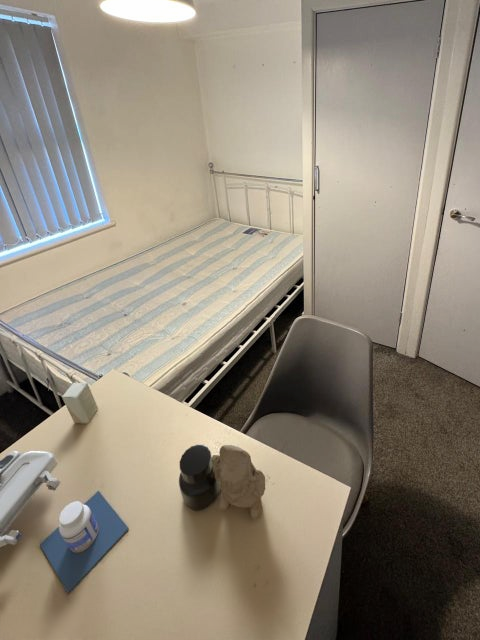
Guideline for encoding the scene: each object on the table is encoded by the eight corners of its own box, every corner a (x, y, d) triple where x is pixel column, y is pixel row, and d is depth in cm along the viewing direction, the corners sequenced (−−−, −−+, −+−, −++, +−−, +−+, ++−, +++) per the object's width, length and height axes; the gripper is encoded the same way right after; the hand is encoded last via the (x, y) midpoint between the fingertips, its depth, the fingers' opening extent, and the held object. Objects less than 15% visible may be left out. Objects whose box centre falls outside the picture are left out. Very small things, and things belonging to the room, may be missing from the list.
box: (85, 407, 97) (74, 381, 92) (98, 408, 97) (88, 381, 92) (73, 424, 92) (60, 397, 87) (87, 424, 92) (76, 397, 87)
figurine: (209, 512, 72) (196, 458, 64) (225, 479, 79) (216, 425, 70) (260, 535, 69) (254, 480, 60) (273, 498, 75) (269, 443, 67)
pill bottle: (81, 520, 71) (68, 495, 67) (104, 523, 70) (92, 497, 66) (63, 552, 66) (47, 527, 62) (87, 555, 66) (73, 530, 62)
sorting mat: (40, 545, 67) (39, 544, 67) (98, 491, 76) (98, 490, 76) (68, 593, 61) (67, 593, 61) (129, 529, 70) (128, 528, 70)
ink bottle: (214, 462, 82) (208, 431, 77) (229, 493, 76) (223, 462, 71) (176, 487, 77) (167, 456, 72) (188, 523, 71) (179, 491, 66)
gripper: (-85, 555, 58) (-20, 569, 56) (19, 443, 76) (71, 451, 75) (-68, 571, 61) (-5, 585, 59) (29, 459, 79) (79, 468, 77)
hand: (38, 509), depth 67 cm, fingers open, 8 cm apart
